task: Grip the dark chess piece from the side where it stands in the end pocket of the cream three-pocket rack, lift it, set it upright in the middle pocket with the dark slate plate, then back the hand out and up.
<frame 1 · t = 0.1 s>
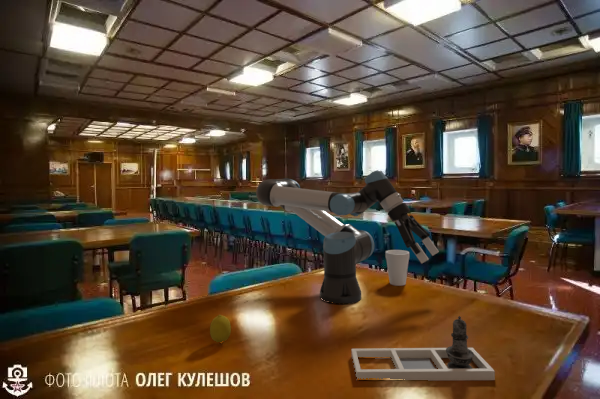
hand: (430, 257, 123), 15 cm above the table, tool tilted 35°, fingers open, 13 cm apart
lemon: (221, 344, 95), on the table
dark chess piece: (459, 368, 80), resting in pocket rack
pocket rack: (418, 367, 80), on the table
foam cup: (397, 283, 144), on the table
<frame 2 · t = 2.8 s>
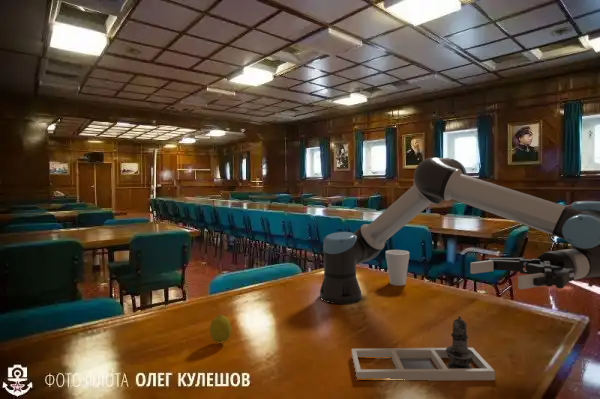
hand: (493, 274, 82), 20 cm above the table, tool horizontal, fingers open, 13 cm apart
nothing on the table moved.
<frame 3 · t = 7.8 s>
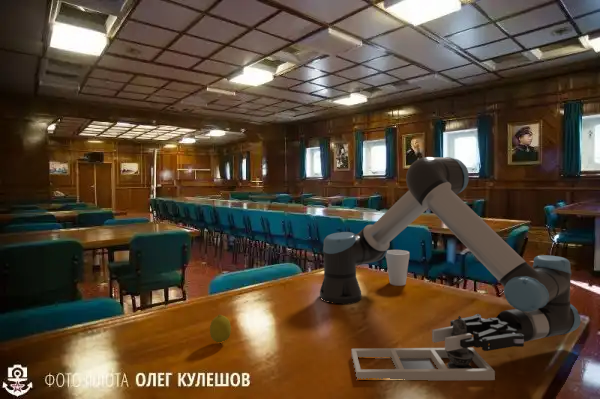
hand: (439, 340, 78), 7 cm above the table, tool horizontal, fingers closed on dark chess piece, 4 cm apart
dark chess piece: (459, 368, 80), resting in pocket rack, touching gripper
everything else where it was.
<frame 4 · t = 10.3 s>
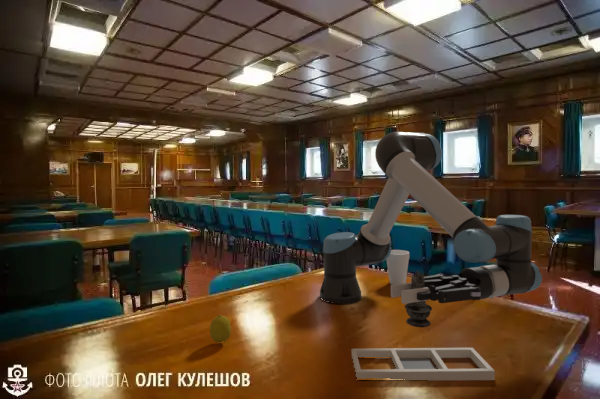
hand: (397, 294, 78), 18 cm above the table, tool horizontal, fingers closed on dark chess piece, 4 cm apart
dark chess piece: (418, 323, 80), point 10 cm above the table, touching gripper
everything else where it was.
when the fingers open (8 cm above the table, at t = 12.7 s): dark chess piece stays where it is, resting on pocket rack.
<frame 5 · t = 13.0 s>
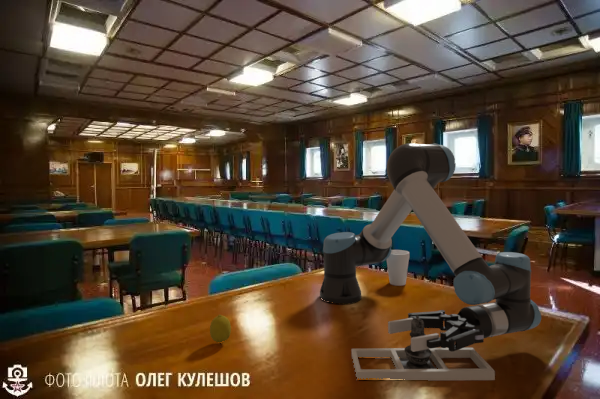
hand: (399, 335, 79), 8 cm above the table, tool horizontal, fingers open, 8 cm apart
dark chess piece: (418, 367, 80), resting on pocket rack
everything else where it was.
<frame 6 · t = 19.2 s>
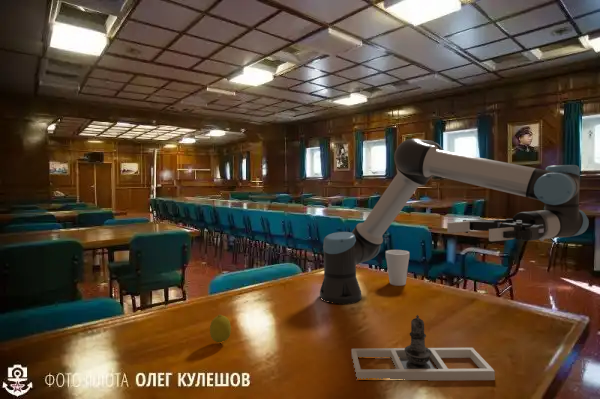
hand: (467, 231, 86), 30 cm above the table, tool horizontal, fingers open, 13 cm apart
nothing on the table moved.
at the end: dark chess piece 0.0 cm off-centre on the pocket rack, point 0.1 cm above the pocket rack's base; dark chess piece tilted 0°; the gripper is holding nothing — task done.
